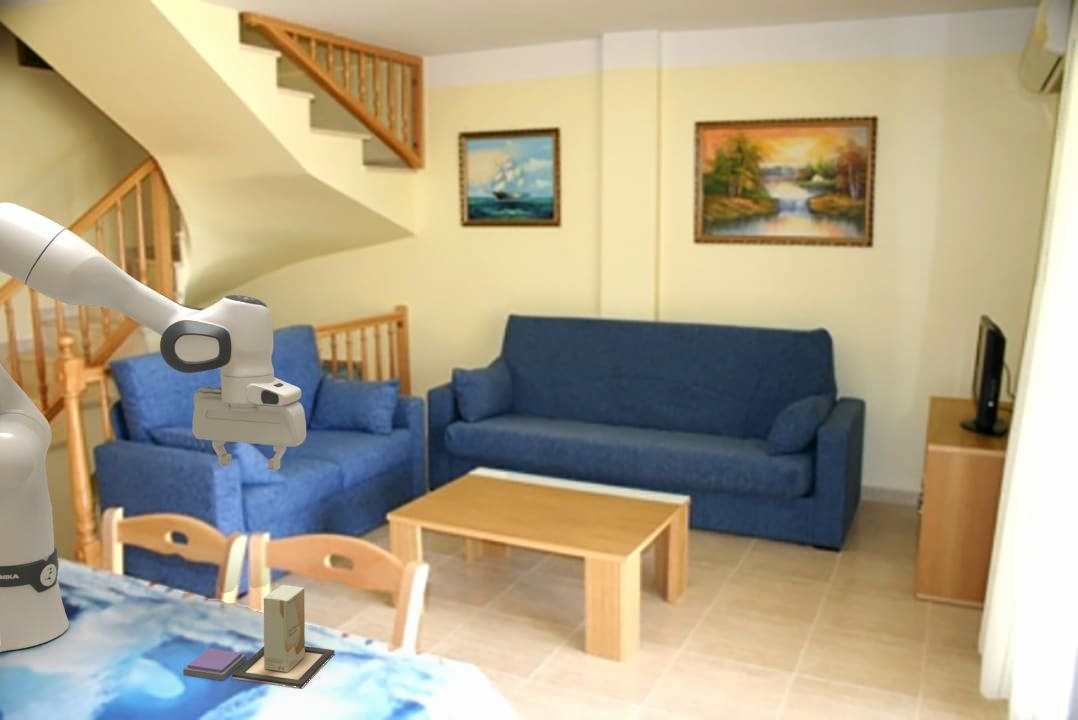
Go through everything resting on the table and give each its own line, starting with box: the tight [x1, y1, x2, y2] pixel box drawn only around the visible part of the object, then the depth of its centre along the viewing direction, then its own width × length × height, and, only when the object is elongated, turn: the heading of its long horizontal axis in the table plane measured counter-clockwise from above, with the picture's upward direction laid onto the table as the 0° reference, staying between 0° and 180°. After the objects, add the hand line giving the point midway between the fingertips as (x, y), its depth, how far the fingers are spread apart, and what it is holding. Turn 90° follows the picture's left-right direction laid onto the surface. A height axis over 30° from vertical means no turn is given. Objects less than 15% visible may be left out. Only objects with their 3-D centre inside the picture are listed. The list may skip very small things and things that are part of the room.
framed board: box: [231, 645, 335, 688], centre depth 154 cm, size 12×12×1 cm
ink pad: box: [182, 648, 247, 682], centre depth 153 cm, size 7×7×2 cm
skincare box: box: [263, 584, 306, 672], centre depth 153 cm, size 6×4×12 cm
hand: (249, 466), depth 164 cm, fingers open, 8 cm apart
